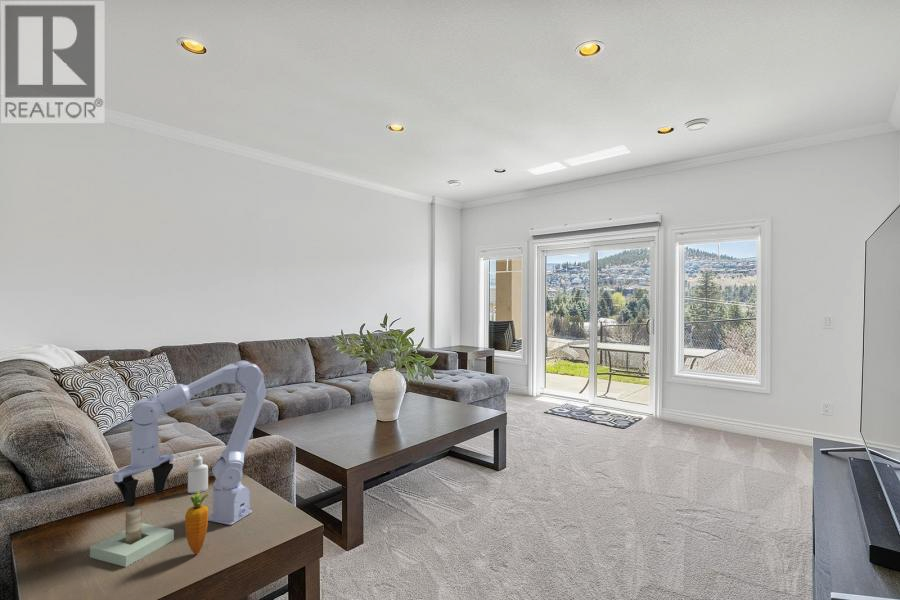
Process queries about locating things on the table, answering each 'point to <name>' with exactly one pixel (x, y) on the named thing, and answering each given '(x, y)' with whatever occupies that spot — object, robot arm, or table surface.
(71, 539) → the table surface
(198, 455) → the eye dropper bottle
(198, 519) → the carrot
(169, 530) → the hole block
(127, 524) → the ash wood peg
